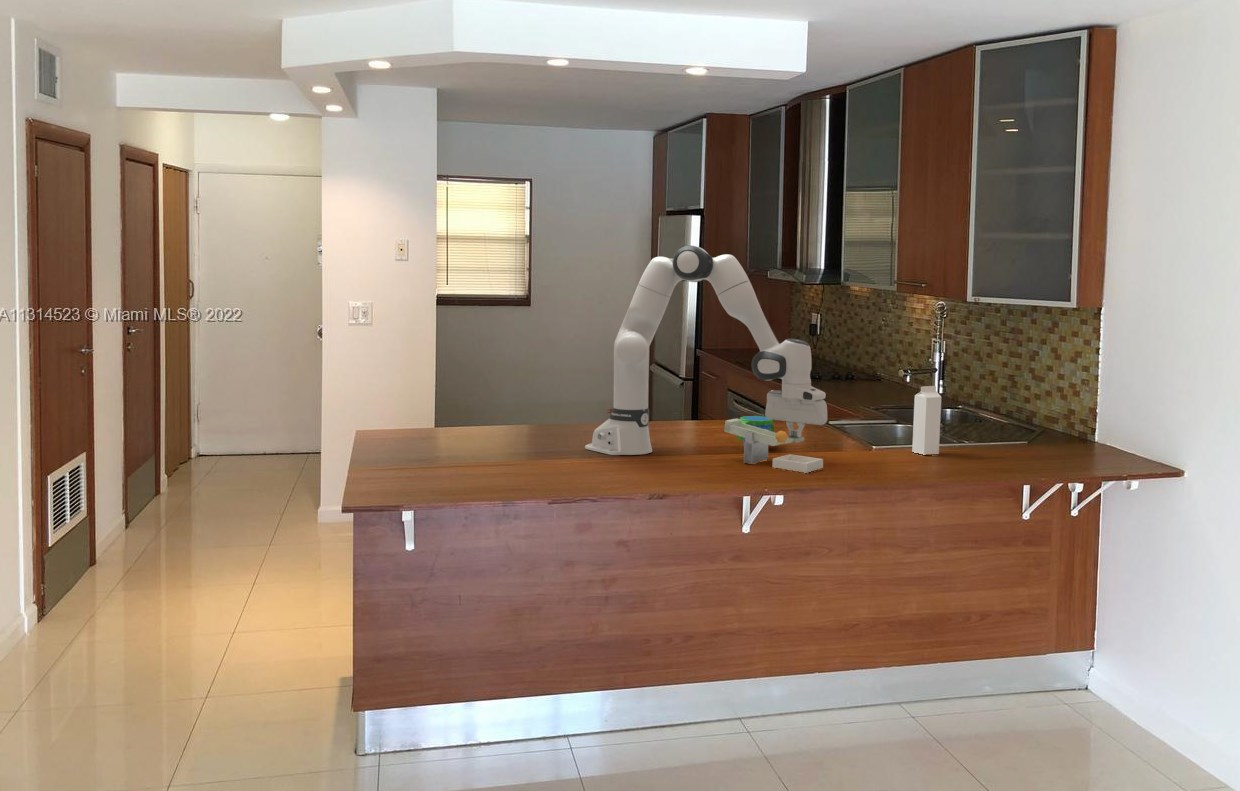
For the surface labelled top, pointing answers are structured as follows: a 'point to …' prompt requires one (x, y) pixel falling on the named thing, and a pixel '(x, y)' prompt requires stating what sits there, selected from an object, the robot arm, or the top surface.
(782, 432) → the ball
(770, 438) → the lever
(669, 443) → the top surface
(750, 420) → the snack cup
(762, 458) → the stand
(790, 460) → the white flat rimmed tray
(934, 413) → the milk
